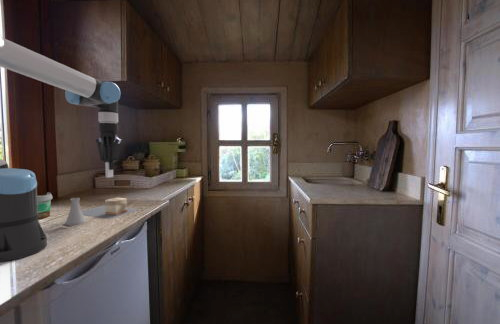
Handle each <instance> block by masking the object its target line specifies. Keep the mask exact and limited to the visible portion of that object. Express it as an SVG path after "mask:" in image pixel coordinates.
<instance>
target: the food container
mask: <svg viewBox="0 0 500 324" xmlns="http://www.w3.org/2000/svg"><path fill="white" fill-rule="evenodd" d="M53 198H54V197H53V195H52V192H49V191H48V192H46V194H43V195H37V203H38V221H39V220H43V219H47V218H49V217H50V216H51V206H52V205H51V202H52V201H51V200H53Z"/></svg>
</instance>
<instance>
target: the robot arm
mask: <svg viewBox="0 0 500 324" xmlns="http://www.w3.org/2000/svg"><path fill="white" fill-rule="evenodd" d="M0 67H1V68H3V69H6V70H9V71H11V72H14V73H17V74H20V75H23V76H25V77H28V78H30V79H34V80H37V81H40V82H42V83H44V84H47V85H50V86H53V87H56V88H59V89H62V90H64V91H65V92H64V94H65V96H64V97H65V100H66V101H67V102H68V103H69V104H72V105H76V106H84V107H91V108H97V109H98V110H97V111H98V119H97V120H98V121H97V122H99V123H98V131H99V133H100V136H99V138H96V139H95V142H96V144H97V148H98V153H99V159H100V161H102V162H104V170H105V178H107V179H108V178H114V169H115V162H117V161H119V156H120V150H121V145H122V142H123V139H121V138H119V136H118V134H117V133H118V132H119V124H118V123H119V100H120V99H121V89H120V87H119V86H118V85H117V84H116V83H114V82H113V81H101V80H100V79H97V78H94V77H92V76H90V75H88V74H85V73H83V72H80V71H78V70H76V69H74V68H73V67H72V68H71V67H69V66H67V65H65V64H63V63H60V62H58V61H55V60H54V59H51V58H49V57H47V56H45V55H42V54H41V53H38V52H35V50H34V51H33V50H31V49H28V48H27V47H24V46H22V45H20V44H17V43H15V42H13V41H11V40H8V39H7V38H4V37H3V36H2V35H1V34H0ZM37 196H38V181H37V177H36V174H35V172H33V171H32V170H30V169H25V168H16V167H15V168H13V167H12V168H11V167H9V165H8V162H7V161H6V160H4V159H1V158H0V263H3V262H8V261H13V260H17V259H21V258H24V257H28V256H32V255H33V254H35V253H38V252H40V251H42V250H44V249H45V248H47V246H48V238H47V235H46V233H45V232H44V230H43V227H42V226H41V224H40V221H39V220H38V203H37Z"/></svg>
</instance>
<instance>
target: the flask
mask: <svg viewBox="0 0 500 324" xmlns="http://www.w3.org/2000/svg"><path fill="white" fill-rule="evenodd" d="M69 200H70V203H71V204H70V209H69V213H68V216H67V218H66V221H65V226H69V227H72V226H78V225H82V224H86V223H87V219H86V216H84V215H83V213H82V211H83V210H82V208H81V205H80V200H81V198H80V197H72V198H70V199H69Z"/></svg>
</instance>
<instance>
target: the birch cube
mask: <svg viewBox="0 0 500 324" xmlns="http://www.w3.org/2000/svg"><path fill="white" fill-rule="evenodd" d="M104 201H105V203H104V205H105V210H106V214H110V215H119V214H122V213H125V212H127V208H128V199H127V198H125V197H113V198H108V199H105V200H104Z"/></svg>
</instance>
